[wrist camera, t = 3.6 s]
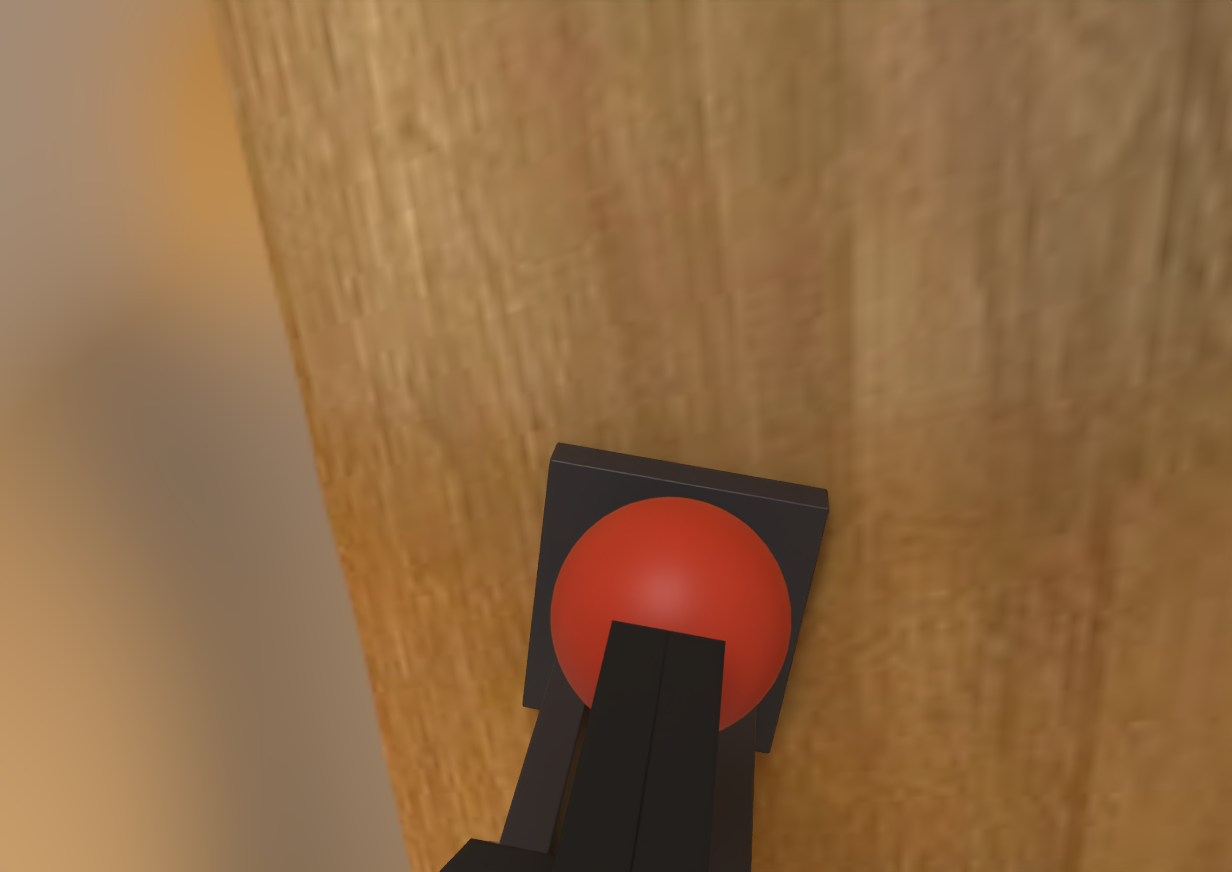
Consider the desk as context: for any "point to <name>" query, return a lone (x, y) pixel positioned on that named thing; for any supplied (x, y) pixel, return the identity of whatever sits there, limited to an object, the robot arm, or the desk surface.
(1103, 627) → the desk surface
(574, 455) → the switch bracket
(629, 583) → the red ball lever
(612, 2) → the desk surface
